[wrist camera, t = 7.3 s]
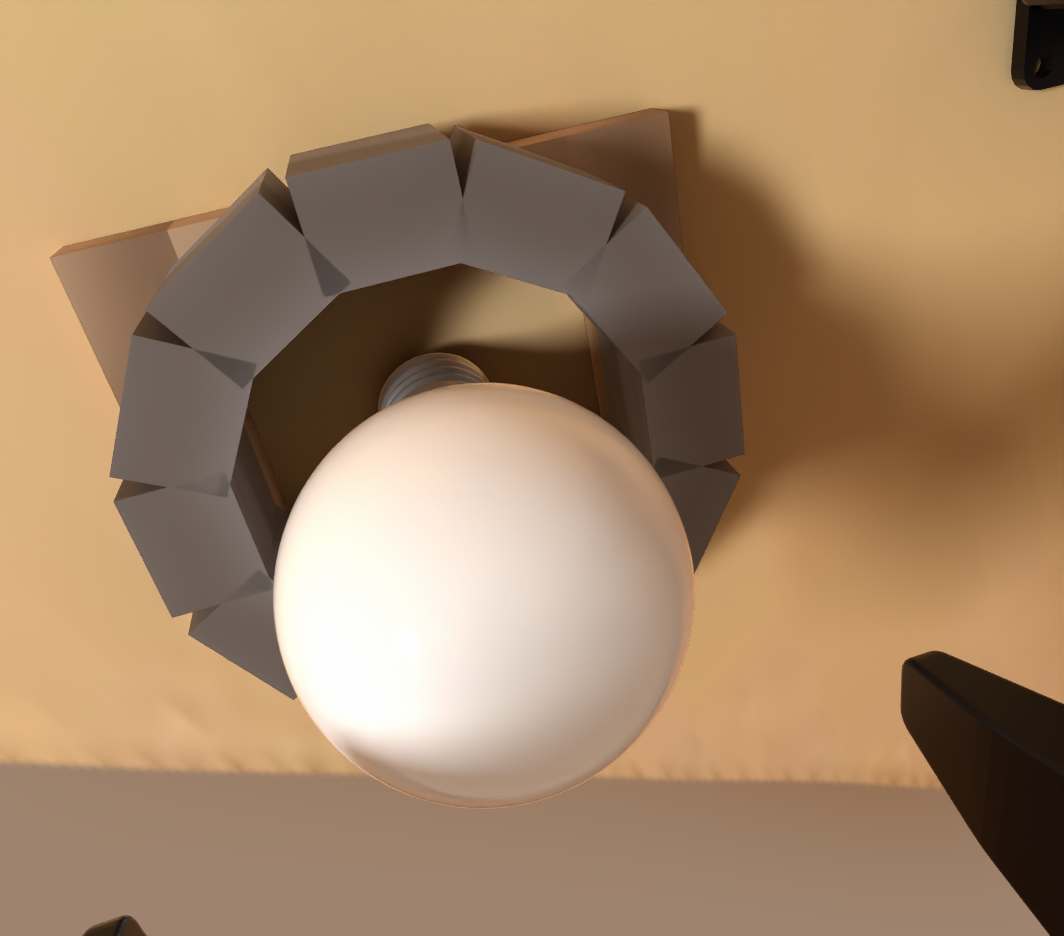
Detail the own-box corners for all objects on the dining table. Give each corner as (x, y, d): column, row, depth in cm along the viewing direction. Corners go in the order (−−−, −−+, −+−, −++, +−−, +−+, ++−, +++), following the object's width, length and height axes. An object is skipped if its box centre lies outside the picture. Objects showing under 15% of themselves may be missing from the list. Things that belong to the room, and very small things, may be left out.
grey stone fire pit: (646, 67, 18) (727, 74, 14) (698, 535, 24) (764, 621, 20) (45, 206, 16) (-29, 250, 13) (256, 666, 22) (244, 782, 19)
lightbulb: (445, 200, 18) (573, 396, 8) (615, 401, 21) (851, 713, 11) (233, 392, 19) (132, 765, 9) (425, 557, 22) (495, 967, 12)
